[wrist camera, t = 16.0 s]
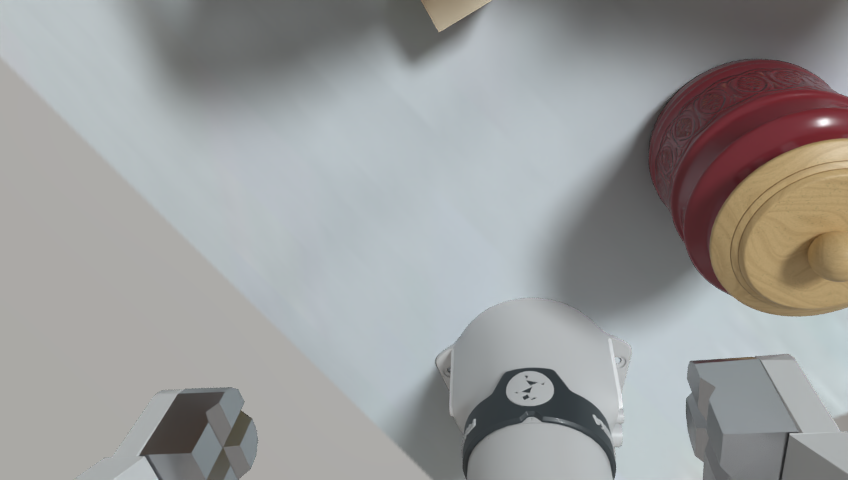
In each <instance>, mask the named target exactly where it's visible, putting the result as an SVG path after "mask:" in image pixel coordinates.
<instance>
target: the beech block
mask: <svg viewBox="0 0 848 480" xmlns="http://www.w3.org/2000/svg"><path fill="white" fill-rule="evenodd" d="M490 1H492V0H421V2H422V4H423V5H424V7H425V9H426V11H427V12H428V14H429V16H430V18H431V19H432V21H433V23H434V25H435V27H436V28H437V30H438V32H441V31H442V30H444V29H446V28H447V27H449V26H451V25H452V24H454V23H456V22H457V21H459V20H461V19H462V18H464V17H466V16H467V15H469V14H471V13H472V12H474V11H476V10H477V9H479V8H481V7H482V6H484V5H485V4H487V3H489V2H490Z"/></svg>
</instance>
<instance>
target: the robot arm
mask: <svg viewBox="0 0 848 480" xmlns="http://www.w3.org/2000/svg"><path fill="white" fill-rule="evenodd" d="M631 355H632V348H631V346H630V345H629V344H628V343H627V342H625V341H624V340H622V339H620V338H618V337H615V336H613V335H610V334H608V333H606V332H605V331H603V330H602V329H601V328H600V327H599V326H598V325H597V324H595V323H594V322H593V321H592V320H591V319H590V318H589V317H587V316H586V315H585V314H583V313H582V312H580V311H579V310H577V309H575V308H573V307H571V306H569V305H567V304H564V303H561V302H558V301H554V300H550V299H543V298H520V299H514V300H509V301H505V302H502V303H499V304H497V305H494V306H492V307H490V308H488V309H487V310H485V311H484V312H482V313H481V314H479V315H478V316H477V317H476V318H475V319H474V320H473V321H472V322H471V323H470V324H469V325H468V326H467V327H466V329H465V330H464V332H463V333H462V334H461V336H460V337H459V339H458V340H457V341H456V342H455V343H454V344H453V345H451V346H449V347H448V348H446V349H445V350H443V351H442V352H441V353H440V354H439V355H438V356H437V358H436V364H437V367H438V369H439V371H440V373H441V375H442V377H443V379H444V381H445V383H446V385H447V387H448V389H449V391H450V398H449V412H450V415H451V416H452V417H454V418H455V421H456V423H457V425H458V427H459V429H460V430H461V432H462V434H463V435H464V436H463V440H462V458H463V472H464V475H465V477H466V480H614V478H615V473H616V462H615V459H616V457H615V455H616V453H615V447H621V446H622V442H623V431H622V425H621V424H622V423H623V422H624V411H623V409H622V408H623V401H622V395H621V394H622V390H623V386H624V382H625V378H626V374H627V371H628V367H629V363H630V359H631ZM615 357H619V358H621V362H619V363H616V362H615ZM449 367H451V373H450V372H448V370H447V369H448V368H449ZM687 380H688V383H689V385H690V388H691V391H692V393H691V394H690V395H689V396H688V397H687V398H686V419H687V427H688V433H689V437H690V441H691V444H692V448H693V451H694V454H695V456H696V457H698V458H699V459H700V460H701V461H703V462H704V469H703V480H848V432H841V431H840V429H839V428H838V426H837V425H836V423H835V421H834V420H833V418H832V417H831V415H830V413H829V412H828V410H827V409H826V407H825V405H824V404H823V402H822V401H821V399H820V398H819V396H818V394H817V393H816V391H815V390H814V388H813V386H812V385H811V383H810V382H809V380H808V378H807V377H806V375H805V374H804V372H803V371H802V369H801V367H800V366H799V364H798V363H797V361H796V359H795V358H794V357H792V356H791V355H789V354H782V355H768V356H755V357H743V358H728V359H713V360H697V361H690V362H689V365H688V373H687ZM243 404H244V400H243V398H242V396H241V394H240V392H239V390H238V389H235V388H231V387H228V388H198V389H196V388H195V389H184V390H162V391H160V392H158V393H157V394H155V395H154V396H153V398H152V399H151V401H150V402H149V404H148V405H147V407H146V408H145V409H144V411H143V412H142V414H141V415H140V417H139V418H138V420H137V421H136V423H135V424H134V426H133V427H132V428H131V430H130V431H129V433H128V434H127V436H126V437H125V439H124V440H123V442H122V443H121V445H120V446H119V448H118V449H117V450H116V452H115V453H114V455H113V456H112V457H108V458H103V459H102V460H100V461H99V462H98V463H96V464H95V465H93V466H92V467H90V468H89V469H88V470H86V471H85V472H83V473H82V474H80V475H79V476H78V477H76V478H75V479H73V480H239V478H241V477H242V476H243V475H244V474H245V473H246V472H247V471H249V470H250V469H251V467H252V464H253V462H254V459H255V457H256V452H257V443H258V437H257V430H256V427H255V425H254V422H253V420H252V418H251V417H249V416H248V415H246V414H245V413H244V412H242V411H241V409H242V407H243Z"/></svg>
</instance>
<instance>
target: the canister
mask: <svg viewBox="0 0 848 480" xmlns="http://www.w3.org/2000/svg"><path fill="white" fill-rule="evenodd" d="M649 170H650V175H651V179H652V182H653V185H654V187H655V189H656V191H657V193H658V195H659V197H660V199H661V200H662V202H663V203H664V204H665V205H666V207H667V208H668V209H669V211H670V213H671V215H672V218H673V222H674V225H675V228H676V230H677V232H678V234H679V236H680V238H681V239H682V241H683V242H684V243H685V245H686V249H687V252H688V255H689V257H690V259H691V261H692V263H693V265H694V266H695V268H696V269H697V270H698V272H699V273H700V274H701V275H702V276H703V277H704V278H705V279H706V280H707V281H708V282H709V283H711V284H712V285H713V286H715V287H716V288H718V289H720V290H721V291H723V292H725V293H727V294H729V295H731V296H733V297H734V298H736V299H737V300H738V301H740V302H741V303H743V304H745V305H747V306H749V307H751V308H753V309H756V310H759V311H762V312H765V313H769V314H774V315H781V316H812V315H819V314H825V313H829V312H834V311H837V310H841V309H844V308H847V307H848V97H847V96H844V95H842V94H839V93H837V92H836V91H834V90H833V89H831V88H830V87H829V85H828V84H826V83H825V82H824V81H823V80H822V79H821V78H819V77H818V76H816V75H815V74H813V73H811V72H809V71H808V70H806V69H804V68H802V67H800V66H797V65H794V64H791V63H788V62H783V61H778V60H767V59H746V60H739V61H734V62H730V63H726V64H723V65H720V66H717V67H715V68H712V69H710V70H708V71H706V72H704V73H702V74H701V75H699V76H697V77H696V78H694V79H693V80H691V81H690V82H689V83H687V84H686V85H685V86H684V87H682V88H681V89H680V90H679V91H678V92H677V93H676V94H675V95H674V96H673V97H672V98H671V99H670V101H669V102H668V103H667V104H666V106H665V107H664V109H663V110H662V112H661V113H660V115H659V117H658V119H657V121H656V123H655V126H654V128H653V131H652V135H651V139H650V145H649Z"/></svg>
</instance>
